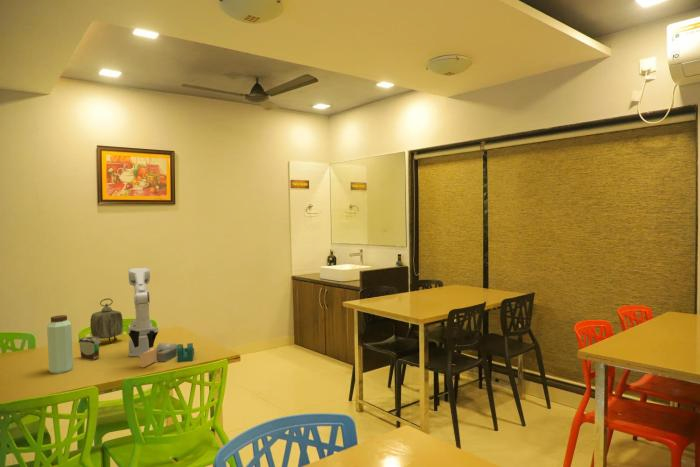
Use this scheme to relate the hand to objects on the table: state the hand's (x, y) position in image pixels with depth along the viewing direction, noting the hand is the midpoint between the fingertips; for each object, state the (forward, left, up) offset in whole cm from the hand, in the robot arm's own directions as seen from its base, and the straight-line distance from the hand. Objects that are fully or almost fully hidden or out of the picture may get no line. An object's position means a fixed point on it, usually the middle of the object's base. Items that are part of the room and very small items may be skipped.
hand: (143, 347), depth 219 cm
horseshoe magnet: (0, +14, -9) cm, 17 cm away
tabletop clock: (-48, +36, -10) cm, 61 cm away
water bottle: (-36, -10, -10) cm, 38 cm away
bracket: (+11, +18, -10) cm, 23 cm away
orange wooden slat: (0, +3, -9) cm, 9 cm away
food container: (-36, +10, -10) cm, 39 cm away
